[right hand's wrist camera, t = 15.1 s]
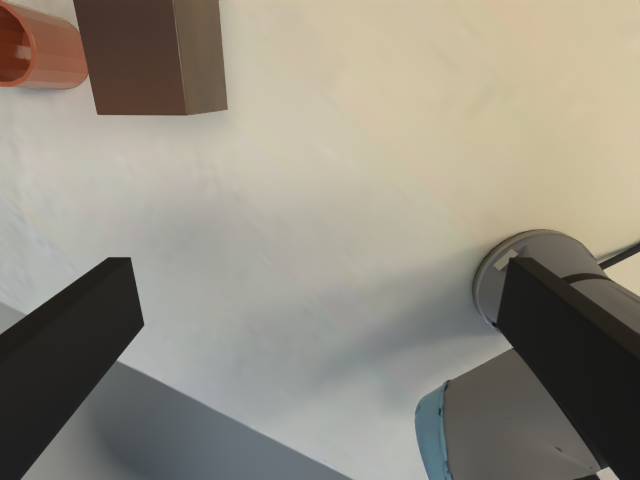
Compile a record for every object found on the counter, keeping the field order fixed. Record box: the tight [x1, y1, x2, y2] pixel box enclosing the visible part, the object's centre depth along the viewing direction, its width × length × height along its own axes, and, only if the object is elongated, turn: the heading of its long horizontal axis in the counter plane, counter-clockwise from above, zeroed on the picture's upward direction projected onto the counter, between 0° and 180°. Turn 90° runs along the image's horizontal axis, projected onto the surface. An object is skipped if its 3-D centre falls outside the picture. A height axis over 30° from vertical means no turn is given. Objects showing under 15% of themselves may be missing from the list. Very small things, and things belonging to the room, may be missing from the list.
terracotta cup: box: [0, 0, 88, 89], centre depth 34 cm, size 7×7×8 cm
